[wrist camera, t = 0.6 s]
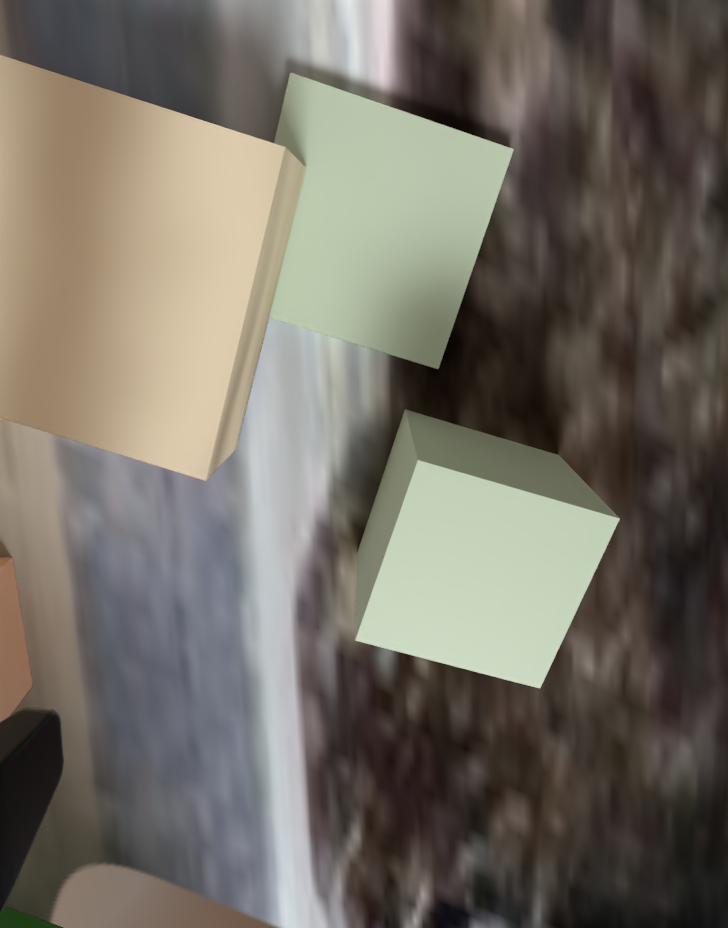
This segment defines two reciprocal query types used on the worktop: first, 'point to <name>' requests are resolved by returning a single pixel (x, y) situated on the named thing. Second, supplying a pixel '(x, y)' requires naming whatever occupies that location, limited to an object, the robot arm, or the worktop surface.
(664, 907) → the worktop surface
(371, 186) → the sage swatch
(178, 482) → the worktop surface
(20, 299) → the beech block
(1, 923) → the hardback book
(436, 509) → the sage cube
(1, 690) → the terracotta cube
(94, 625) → the worktop surface
